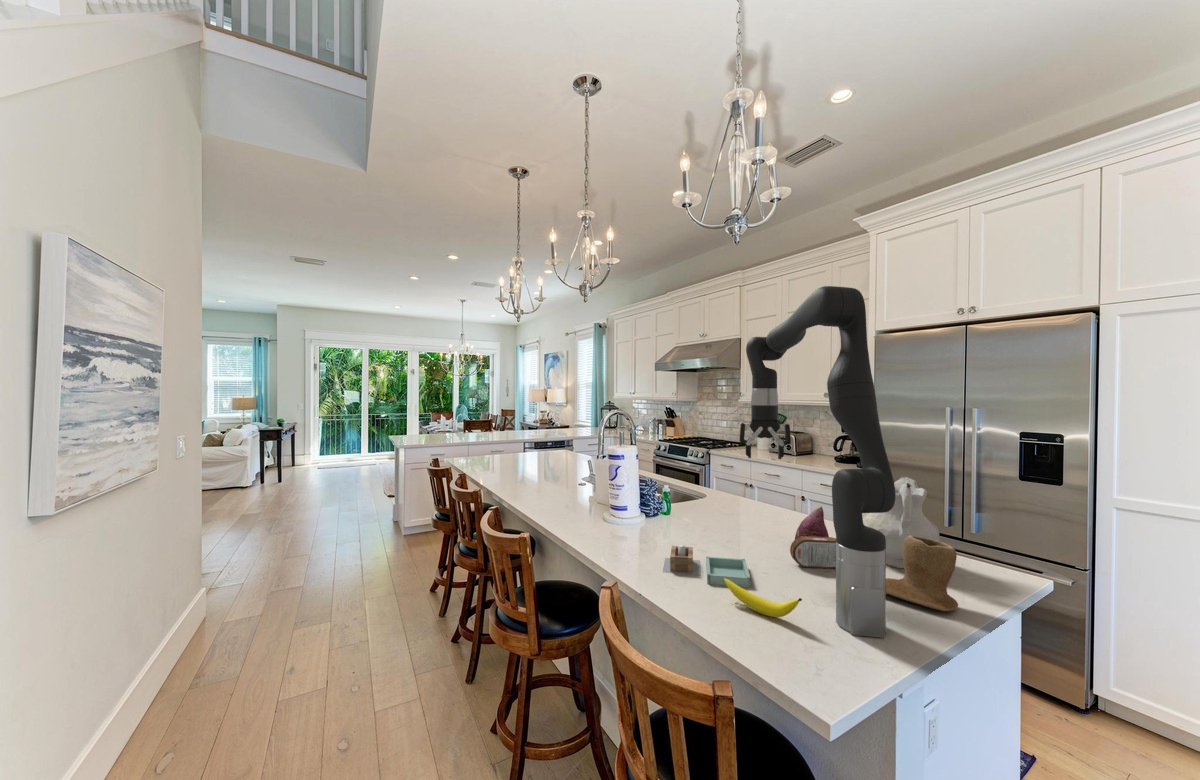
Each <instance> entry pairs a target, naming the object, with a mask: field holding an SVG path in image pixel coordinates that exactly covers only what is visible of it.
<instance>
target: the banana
mask: <svg viewBox="0 0 1200 780" xmlns="http://www.w3.org/2000/svg"><path fill="white" fill-rule="evenodd" d="M724 581H725V583H726V585H725V586H727V589H729V590H730V591H731V593H732V595H733V596H734V597H736V599H738V600H739V602H742V603H743V604H744V605H746V606H747V607H749V609H752V610H753V611H755V612H756V613H757V612H758V613H760V614H762V615H764V616H768V617H771V618H772V617H773V618H782V617H783V618H784V617H785V616H787V615H789V614H790V613H792V611H794V610H795V609H796V607H797V606H798V604H799V603H800V602H801V601H802V598H801V597H800V598H799V599H792V600H788V601H786V602H781V603H777V602H773V601H770V600H767V599H764V598H762V597H760V596H758V595H756V594H753V593H752V592H750V591H748V590H746V589H745V588H744V587H740V586H738V585H736V584H735V583H733V582H731V581H730V580H728V579H725V578H724Z"/></svg>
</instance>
